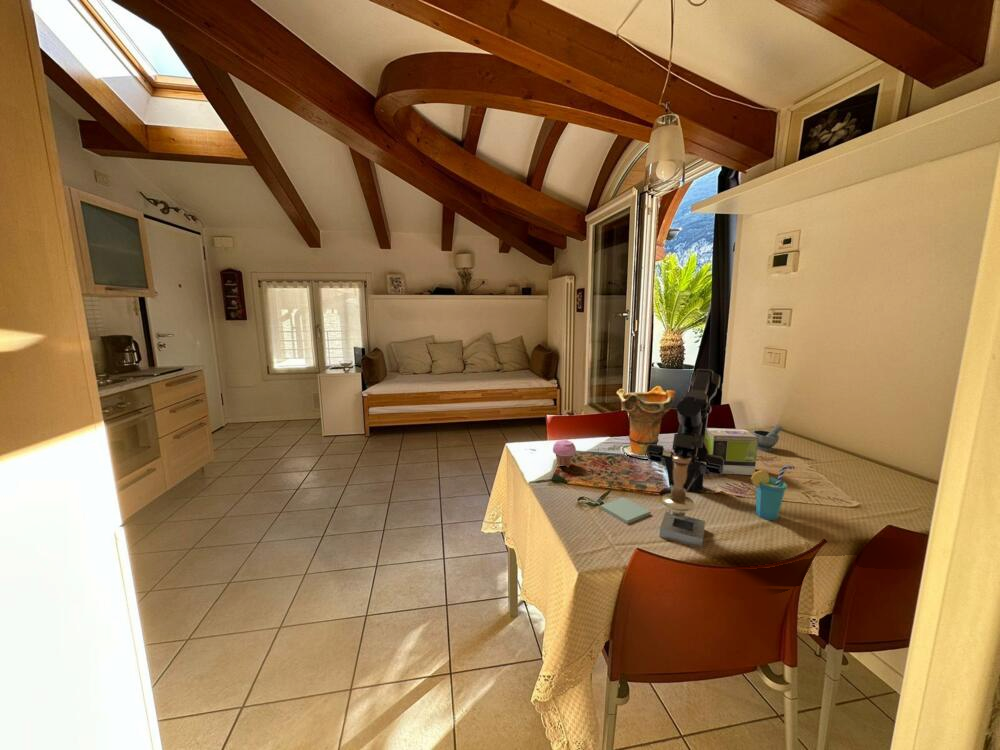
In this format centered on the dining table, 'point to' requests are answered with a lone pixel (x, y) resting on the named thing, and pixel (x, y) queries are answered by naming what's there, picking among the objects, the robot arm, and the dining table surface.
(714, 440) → the tea box
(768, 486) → the cup
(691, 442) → the robot arm
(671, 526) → the bore block
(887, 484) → the dining table surface
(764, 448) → the mortar and pestle
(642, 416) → the decorative vase
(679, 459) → the metallic flared cylinder
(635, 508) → the pad
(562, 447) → the cupcake
